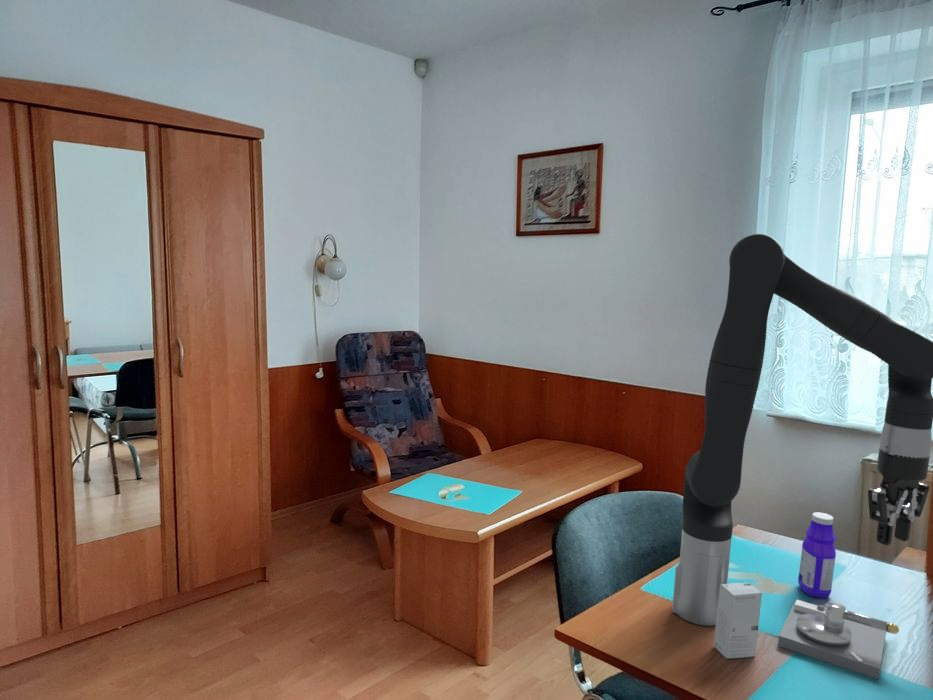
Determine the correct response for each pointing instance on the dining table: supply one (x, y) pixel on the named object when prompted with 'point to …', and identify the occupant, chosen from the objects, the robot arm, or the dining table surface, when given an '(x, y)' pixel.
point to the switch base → (854, 656)
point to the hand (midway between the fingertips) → (892, 541)
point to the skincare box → (737, 620)
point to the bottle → (818, 557)
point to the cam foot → (837, 625)
